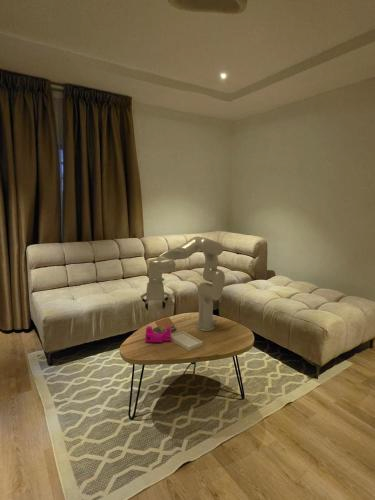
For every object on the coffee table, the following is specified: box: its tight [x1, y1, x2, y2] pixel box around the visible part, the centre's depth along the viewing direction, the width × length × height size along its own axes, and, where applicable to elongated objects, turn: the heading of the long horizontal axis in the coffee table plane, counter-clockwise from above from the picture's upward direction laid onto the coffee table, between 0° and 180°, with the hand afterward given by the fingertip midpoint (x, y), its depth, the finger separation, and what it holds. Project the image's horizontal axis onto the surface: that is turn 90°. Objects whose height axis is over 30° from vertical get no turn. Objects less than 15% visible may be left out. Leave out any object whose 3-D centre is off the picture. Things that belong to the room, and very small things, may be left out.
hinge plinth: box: [153, 326, 177, 334], centre depth 199 cm, size 12×10×3 cm
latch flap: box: [154, 317, 176, 332], centre depth 198 cm, size 11×8×1 cm
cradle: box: [170, 330, 204, 352], centre depth 184 cm, size 11×19×2 cm, turn 40°
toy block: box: [144, 326, 172, 343], centre depth 185 cm, size 15×6×8 cm, turn 87°
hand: (155, 308), depth 176 cm, fingers open, 9 cm apart
